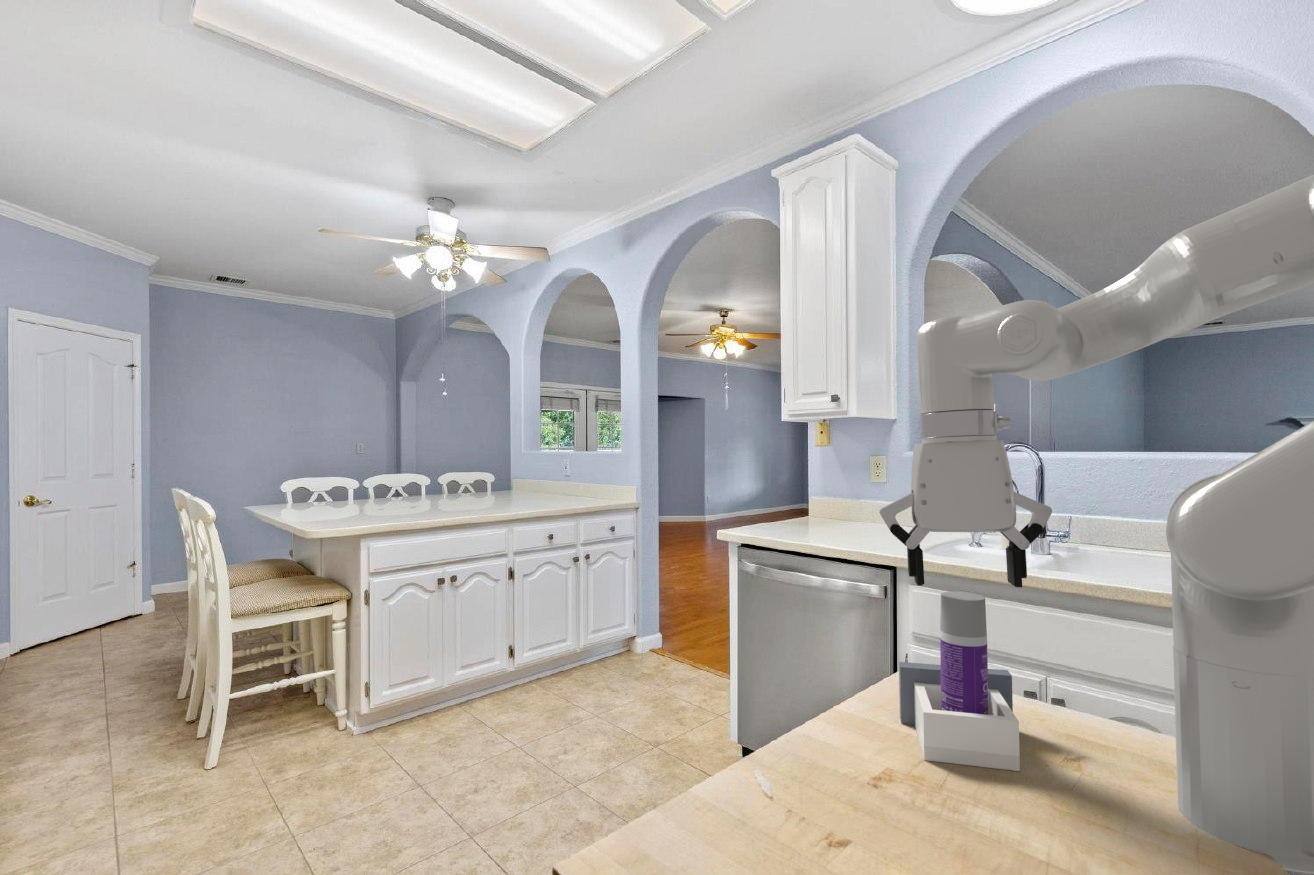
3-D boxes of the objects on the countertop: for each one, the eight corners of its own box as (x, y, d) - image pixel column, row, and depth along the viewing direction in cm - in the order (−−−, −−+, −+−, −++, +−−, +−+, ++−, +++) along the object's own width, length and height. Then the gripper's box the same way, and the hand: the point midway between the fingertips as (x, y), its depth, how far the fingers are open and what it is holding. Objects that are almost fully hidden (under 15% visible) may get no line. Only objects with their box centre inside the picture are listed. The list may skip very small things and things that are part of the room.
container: (995, 744, 67) (992, 601, 67) (947, 740, 68) (945, 599, 68) (981, 725, 72) (978, 592, 72) (936, 722, 73) (934, 590, 73)
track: (1009, 738, 74) (1007, 670, 75) (1063, 831, 56) (1061, 740, 56) (900, 727, 78) (898, 661, 78) (918, 811, 60) (916, 725, 60)
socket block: (998, 733, 73) (997, 689, 73) (1019, 771, 64) (1018, 721, 64) (914, 724, 75) (913, 682, 76) (924, 760, 67) (923, 712, 67)
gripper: (1034, 427, 72) (1044, 579, 71) (874, 434, 77) (881, 577, 76) (1056, 423, 65) (1067, 592, 64) (877, 431, 70) (885, 589, 69)
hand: (966, 584), depth 70 cm, fingers open, 9 cm apart
